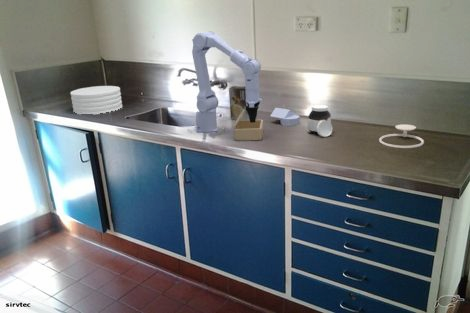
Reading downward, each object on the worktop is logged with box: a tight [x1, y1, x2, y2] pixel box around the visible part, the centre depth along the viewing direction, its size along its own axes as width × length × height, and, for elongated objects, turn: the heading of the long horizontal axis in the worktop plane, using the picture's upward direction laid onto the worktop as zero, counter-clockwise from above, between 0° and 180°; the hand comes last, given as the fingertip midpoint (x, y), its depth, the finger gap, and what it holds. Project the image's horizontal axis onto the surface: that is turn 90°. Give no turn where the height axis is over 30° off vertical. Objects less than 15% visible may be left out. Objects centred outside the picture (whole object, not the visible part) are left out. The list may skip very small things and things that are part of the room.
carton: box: [234, 119, 264, 141], centre depth 192 cm, size 11×16×5 cm
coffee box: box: [228, 85, 249, 121], centre depth 219 cm, size 9×6×16 cm
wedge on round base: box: [270, 107, 300, 127], centre depth 209 cm, size 9×7×13 cm
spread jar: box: [307, 104, 333, 138], centre depth 189 cm, size 12×11×12 cm
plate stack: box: [70, 85, 123, 115], centre depth 258 cm, size 28×28×12 cm
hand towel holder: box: [378, 124, 425, 149], centre depth 176 cm, size 17×4×21 cm
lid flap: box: [232, 109, 244, 129], centre depth 191 cm, size 6×14×1 cm
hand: (253, 120), depth 191 cm, fingers open, 7 cm apart
